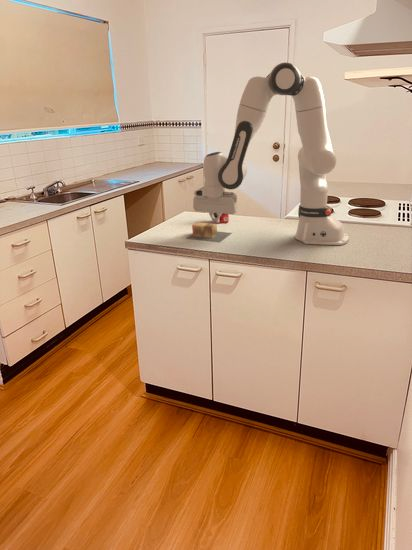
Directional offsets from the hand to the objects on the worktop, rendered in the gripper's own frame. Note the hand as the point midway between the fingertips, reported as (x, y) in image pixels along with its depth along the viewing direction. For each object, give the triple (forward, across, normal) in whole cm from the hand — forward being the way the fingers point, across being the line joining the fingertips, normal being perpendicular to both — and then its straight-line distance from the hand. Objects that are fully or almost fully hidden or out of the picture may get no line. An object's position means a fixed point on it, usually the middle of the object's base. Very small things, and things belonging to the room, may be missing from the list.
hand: (215, 222), depth 183 cm
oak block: (+4, +1, 0) cm, 4 cm away
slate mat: (+7, +4, 0) cm, 8 cm away
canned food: (+7, +8, -23) cm, 26 cm away
